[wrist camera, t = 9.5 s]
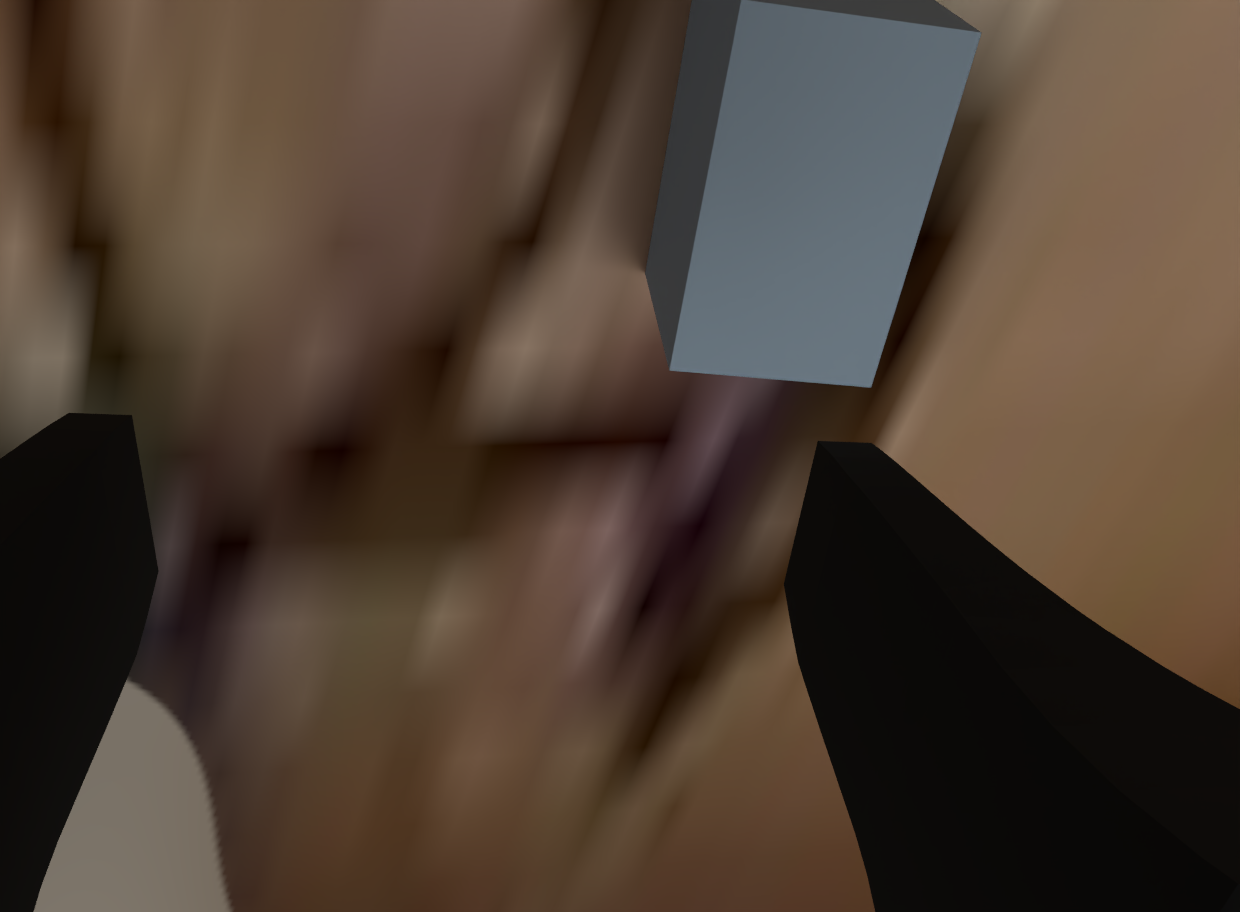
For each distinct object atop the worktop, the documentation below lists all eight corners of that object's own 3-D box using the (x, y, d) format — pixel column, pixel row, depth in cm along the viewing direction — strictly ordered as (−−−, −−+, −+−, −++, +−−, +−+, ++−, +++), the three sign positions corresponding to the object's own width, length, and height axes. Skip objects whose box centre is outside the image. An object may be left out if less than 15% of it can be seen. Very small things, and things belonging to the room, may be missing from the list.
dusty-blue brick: (899, -24, 19) (982, 32, 16) (817, 287, 23) (871, 387, 19) (699, -53, 19) (741, -1, 16) (644, 270, 22) (669, 370, 19)
